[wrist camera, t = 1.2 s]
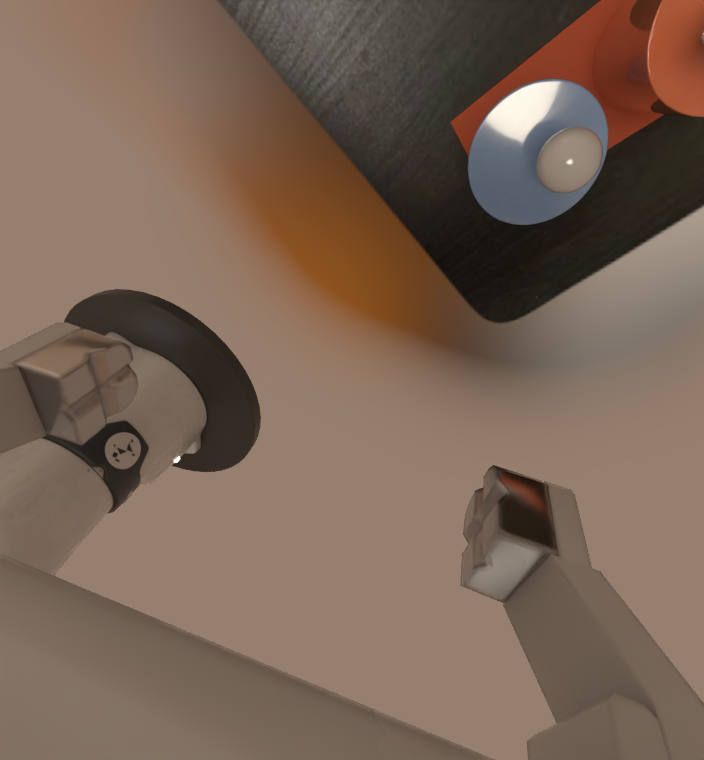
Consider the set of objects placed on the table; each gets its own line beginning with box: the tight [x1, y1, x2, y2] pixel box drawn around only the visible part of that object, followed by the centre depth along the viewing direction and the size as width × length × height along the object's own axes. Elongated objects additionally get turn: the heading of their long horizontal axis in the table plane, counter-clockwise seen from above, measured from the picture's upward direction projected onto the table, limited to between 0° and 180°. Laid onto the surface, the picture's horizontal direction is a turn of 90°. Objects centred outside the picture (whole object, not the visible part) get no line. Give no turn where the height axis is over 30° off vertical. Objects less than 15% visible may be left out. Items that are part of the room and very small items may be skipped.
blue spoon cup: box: [468, 78, 608, 225], centre depth 19 cm, size 5×5×15 cm
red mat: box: [450, 0, 664, 157], centre depth 23 cm, size 13×7×1 cm, turn 128°
